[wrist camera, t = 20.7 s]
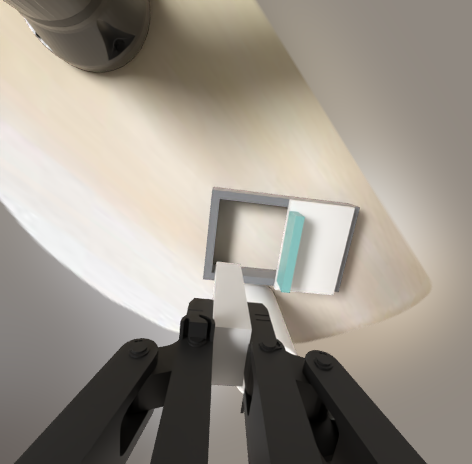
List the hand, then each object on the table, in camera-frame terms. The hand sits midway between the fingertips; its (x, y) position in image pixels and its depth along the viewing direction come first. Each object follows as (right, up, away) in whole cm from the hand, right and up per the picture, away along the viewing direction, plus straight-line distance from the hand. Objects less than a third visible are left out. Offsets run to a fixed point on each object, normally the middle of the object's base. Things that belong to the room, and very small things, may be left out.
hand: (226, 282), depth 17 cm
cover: (+12, +1, +24) cm, 27 cm away
